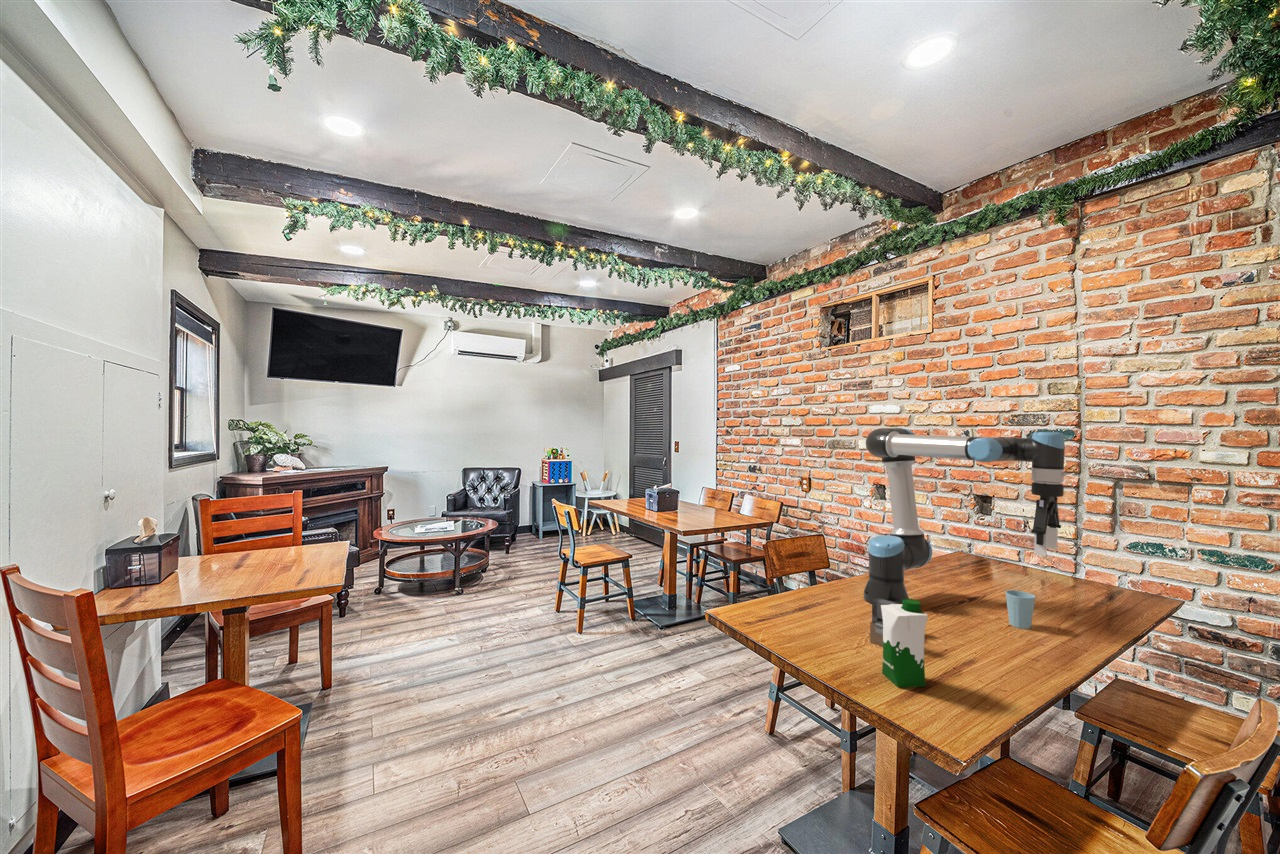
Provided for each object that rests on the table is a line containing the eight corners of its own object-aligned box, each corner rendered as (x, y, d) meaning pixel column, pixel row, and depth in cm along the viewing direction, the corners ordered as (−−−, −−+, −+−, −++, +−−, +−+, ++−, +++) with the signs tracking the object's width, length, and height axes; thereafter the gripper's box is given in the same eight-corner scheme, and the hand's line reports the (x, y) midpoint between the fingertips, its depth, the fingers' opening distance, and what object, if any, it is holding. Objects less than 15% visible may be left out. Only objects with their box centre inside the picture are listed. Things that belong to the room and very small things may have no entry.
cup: (1040, 628, 155) (1040, 596, 155) (1026, 632, 152) (1026, 599, 152) (1014, 619, 162) (1014, 588, 162) (1000, 623, 159) (1000, 591, 159)
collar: (896, 645, 140) (896, 607, 140) (871, 636, 145) (872, 600, 145) (901, 642, 142) (902, 604, 142) (877, 633, 148) (877, 597, 148)
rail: (897, 652, 137) (897, 629, 137) (863, 640, 145) (863, 617, 145) (925, 636, 148) (925, 614, 148) (892, 625, 156) (892, 605, 156)
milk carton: (931, 688, 118) (932, 607, 118) (896, 690, 117) (897, 608, 117) (908, 670, 127) (909, 595, 127) (876, 672, 126) (876, 595, 126)
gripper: (1053, 486, 136) (1052, 561, 136) (1072, 481, 151) (1071, 548, 151) (1020, 484, 141) (1019, 555, 142) (1042, 478, 157) (1040, 543, 157)
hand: (1046, 551), depth 147 cm, fingers open, 13 cm apart
